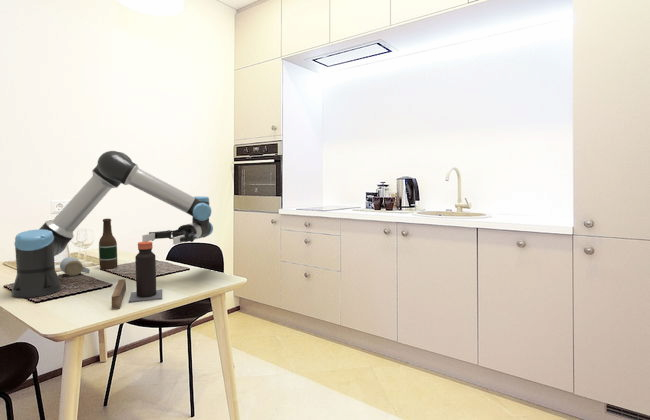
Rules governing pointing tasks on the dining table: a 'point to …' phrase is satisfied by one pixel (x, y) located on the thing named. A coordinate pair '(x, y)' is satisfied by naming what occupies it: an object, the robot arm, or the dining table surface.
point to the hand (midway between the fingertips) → (158, 239)
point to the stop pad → (137, 299)
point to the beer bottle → (107, 247)
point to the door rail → (118, 294)
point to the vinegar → (145, 270)
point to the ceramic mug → (72, 266)
